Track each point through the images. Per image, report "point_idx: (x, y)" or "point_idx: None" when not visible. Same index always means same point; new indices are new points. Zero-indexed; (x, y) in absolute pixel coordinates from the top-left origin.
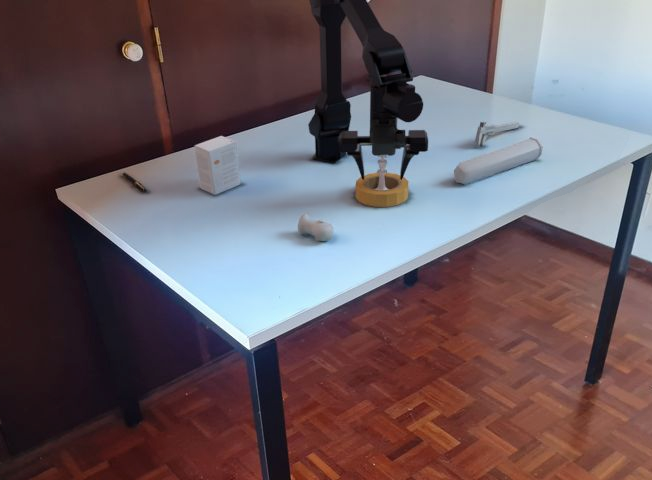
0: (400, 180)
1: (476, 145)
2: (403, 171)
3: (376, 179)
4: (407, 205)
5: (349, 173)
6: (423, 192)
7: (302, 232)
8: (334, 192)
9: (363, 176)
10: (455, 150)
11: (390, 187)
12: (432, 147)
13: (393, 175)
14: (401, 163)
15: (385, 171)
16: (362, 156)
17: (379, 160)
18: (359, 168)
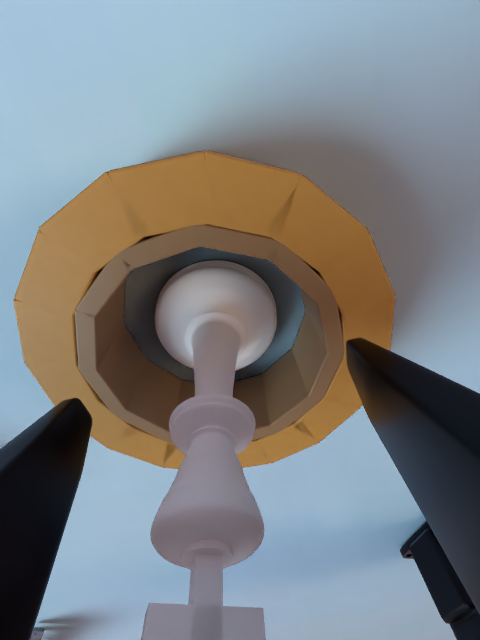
0: (111, 413)
1: (38, 633)
2: (7, 453)
3: (265, 412)
4: (22, 228)
5: (388, 464)
6: (29, 389)
7: None
8: (472, 299)
9: (364, 351)
10: (89, 609)
11: (190, 389)
12: None
13: (176, 453)
14: (56, 541)
15: (176, 428)
16: (462, 570)
17: (242, 544)
18: (460, 389)
